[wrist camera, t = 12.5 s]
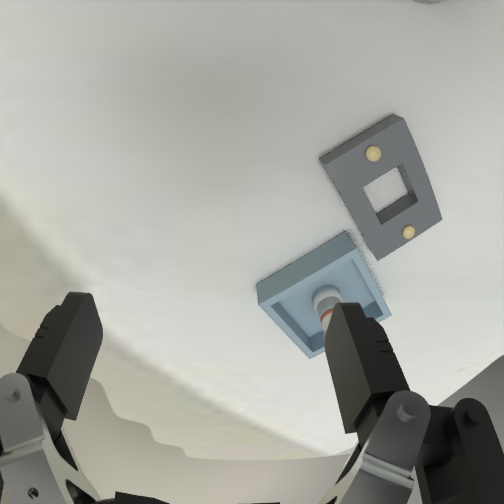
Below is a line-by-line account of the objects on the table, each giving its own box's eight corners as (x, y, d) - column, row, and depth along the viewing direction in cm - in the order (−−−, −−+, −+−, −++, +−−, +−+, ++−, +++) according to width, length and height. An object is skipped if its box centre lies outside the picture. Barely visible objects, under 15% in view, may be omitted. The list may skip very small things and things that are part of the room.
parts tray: (346, 230, 37) (356, 247, 34) (381, 296, 43) (391, 315, 40) (256, 284, 41) (258, 304, 37) (305, 338, 47) (309, 358, 43)
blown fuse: (332, 279, 40) (352, 329, 32) (344, 297, 41) (364, 347, 34) (306, 294, 41) (321, 346, 33) (319, 311, 42) (335, 362, 35)
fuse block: (393, 114, 30) (406, 118, 27) (432, 210, 36) (444, 221, 34) (318, 158, 33) (326, 166, 30) (370, 250, 39) (378, 263, 36)
